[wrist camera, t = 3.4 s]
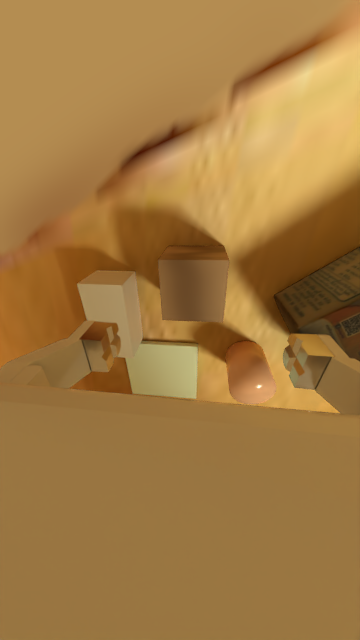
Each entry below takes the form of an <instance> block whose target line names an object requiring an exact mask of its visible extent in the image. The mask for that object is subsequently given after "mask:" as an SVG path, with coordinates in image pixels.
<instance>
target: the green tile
mask: <svg viewBox="0 0 360 640" xmlns="http://www.w3.org/2000/svg"><path fill="white" fill-rule="evenodd" d="M125 359H126V364H127V369H128V373H129V378H130V383H131V388H132V393H133V394H142V395H155V396H168V397H181V398H193V399H196V393H197V364H198V344H195V343H176V342H156V341H141V343H140V345H139V348H138V350H137V352H136V354H135V356H134V358H125Z"/></svg>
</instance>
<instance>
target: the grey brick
mask: <svg viewBox="0 0 360 640" xmlns="http://www.w3.org/2000/svg"><path fill="white" fill-rule="evenodd" d="M77 287H78V290H79V294H80V297H81V301H82V304H83V308H84V312H85V315H86V319H87V320H88V321H102V322H115V323H117V324H118V328H119V331H118V332H117V335H118V336H119V337H120V339H121V348H120V352H119V354H118V356H117V357H122V358H134V356H135V354H136V352H137V350H138V348H139V345H140V343H141V341H142V339H143V330H142V322H141V314H140V305H139V297H138V289H137V281H136V272H135V271H109V270H96V271H95V272H93V273H92V274H90V275H89V276H88V277H86V278H85V279H83V280H82V281H80V282H79V283H77Z"/></svg>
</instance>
